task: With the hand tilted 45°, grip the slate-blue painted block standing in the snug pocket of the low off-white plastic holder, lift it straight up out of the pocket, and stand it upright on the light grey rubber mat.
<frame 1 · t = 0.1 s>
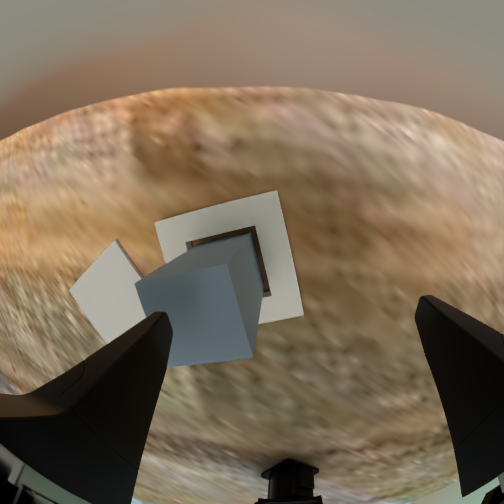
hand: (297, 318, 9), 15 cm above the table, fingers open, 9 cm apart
pocket holder: (230, 265, 25), on the table
slate-blue block: (231, 265, 25), resting in pocket holder
grey mat: (116, 303, 27), on the table
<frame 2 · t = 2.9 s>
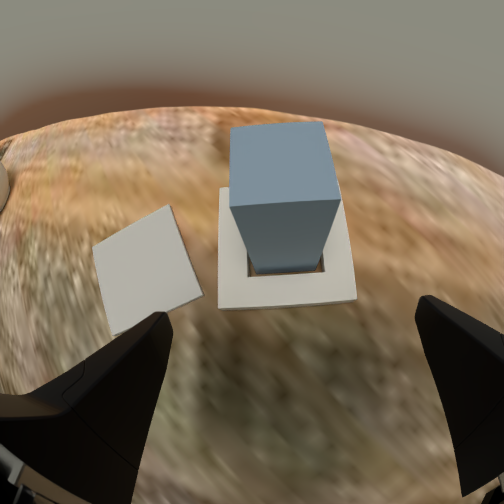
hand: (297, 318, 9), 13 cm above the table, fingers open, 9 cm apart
lidded bowl: (1, 201, 34), on the table
pocket holder: (284, 244, 24), on the table
slate-blue block: (284, 244, 24), resting in pocket holder
grey mat: (140, 269, 25), on the table
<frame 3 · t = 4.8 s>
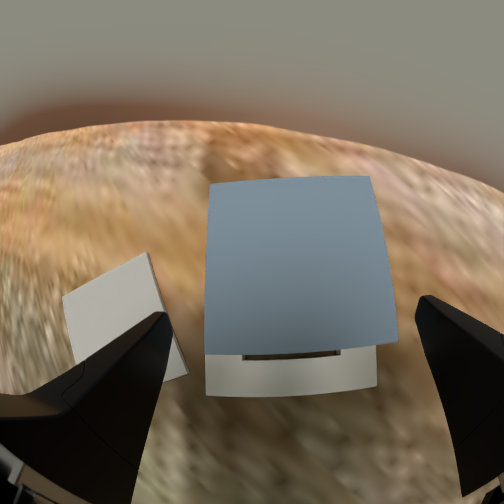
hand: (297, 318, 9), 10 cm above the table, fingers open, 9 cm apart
pocket holder: (289, 314, 18), on the table
slate-blue block: (289, 314, 18), resting in pocket holder
grey mat: (115, 332, 19), on the table
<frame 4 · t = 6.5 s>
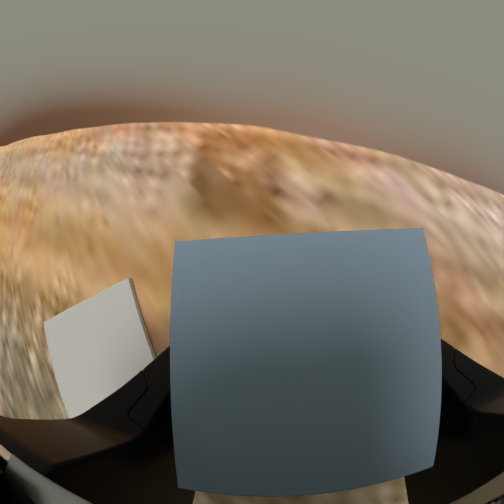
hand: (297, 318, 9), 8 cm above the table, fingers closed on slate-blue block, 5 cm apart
slate-blue block: (292, 353, 15), resting in pocket holder, touching gripper
grey mat: (99, 365, 16), on the table
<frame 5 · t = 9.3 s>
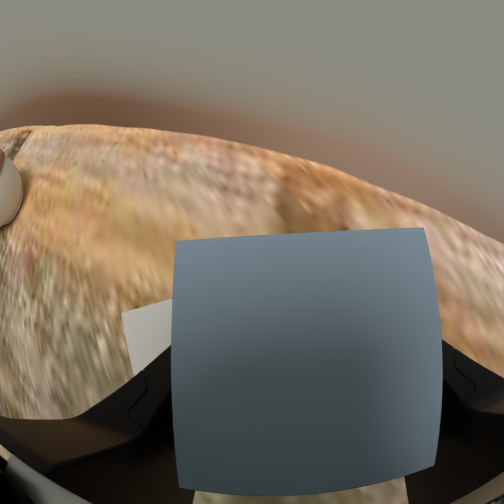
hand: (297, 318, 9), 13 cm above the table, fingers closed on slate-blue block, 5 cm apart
lidded bowl: (12, 206, 32), on the table
slate-blue block: (292, 353, 15), point 6 cm above the table, touching gripper
grey mat: (181, 355, 22), on the table
when the fingers open (9 cm above the table, at t = 12.1 s): slate-blue block stays where it is, resting on grey mat.
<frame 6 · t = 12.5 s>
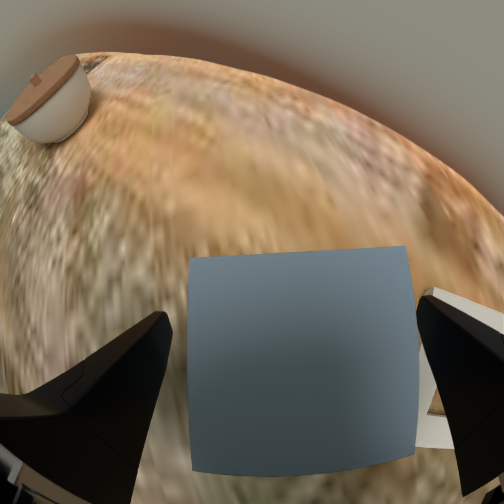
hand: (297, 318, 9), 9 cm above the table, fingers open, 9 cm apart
lidded bowl: (70, 125, 30), on the table
pocket holder: (459, 377, 14), on the table
slate-blue block: (291, 353, 16), resting on grey mat
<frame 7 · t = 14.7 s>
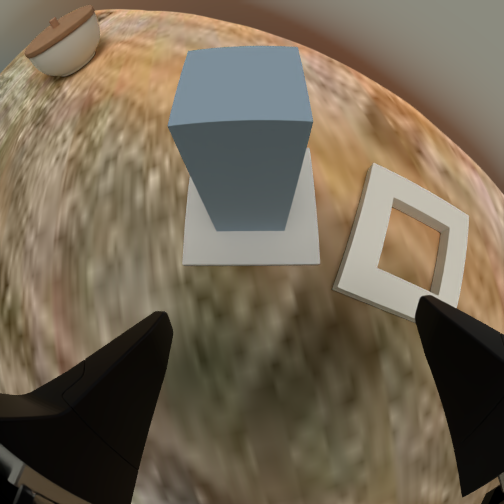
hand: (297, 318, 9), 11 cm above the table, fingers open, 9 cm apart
lidded bowl: (77, 63, 29), on the table
pocket holder: (409, 250, 20), on the table
slate-blue block: (250, 200, 21), resting on grey mat
grey mat: (251, 202, 21), on the table
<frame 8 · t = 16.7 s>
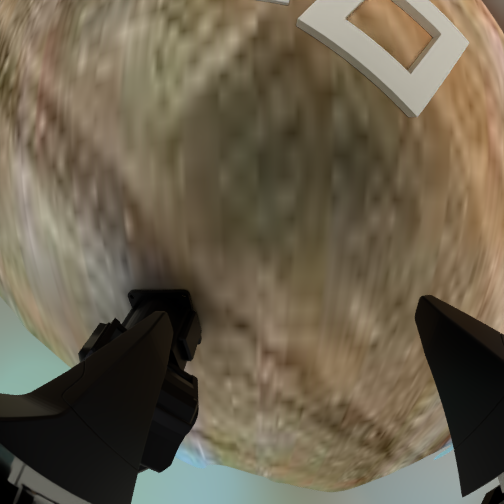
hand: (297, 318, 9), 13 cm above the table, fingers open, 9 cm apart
pocket holder: (390, 29, 13), on the table
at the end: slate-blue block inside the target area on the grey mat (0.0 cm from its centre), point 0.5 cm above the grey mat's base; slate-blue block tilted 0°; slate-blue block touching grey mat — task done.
